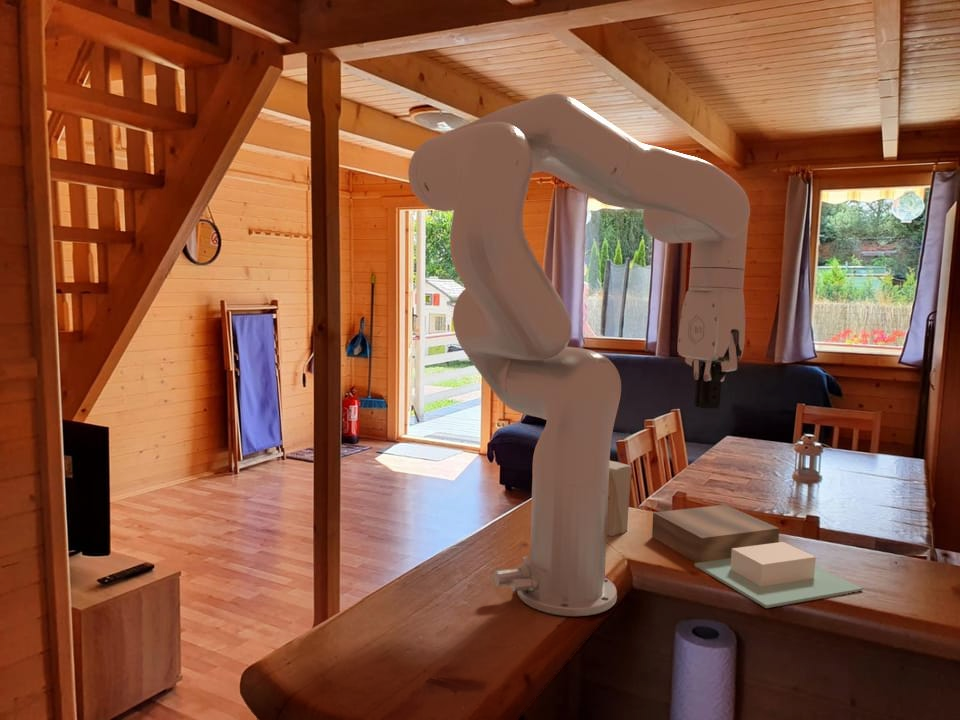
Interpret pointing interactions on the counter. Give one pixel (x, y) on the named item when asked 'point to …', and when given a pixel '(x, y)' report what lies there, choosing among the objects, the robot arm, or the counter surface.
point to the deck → (710, 531)
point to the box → (618, 498)
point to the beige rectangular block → (772, 563)
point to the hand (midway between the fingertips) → (706, 407)
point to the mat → (780, 585)
